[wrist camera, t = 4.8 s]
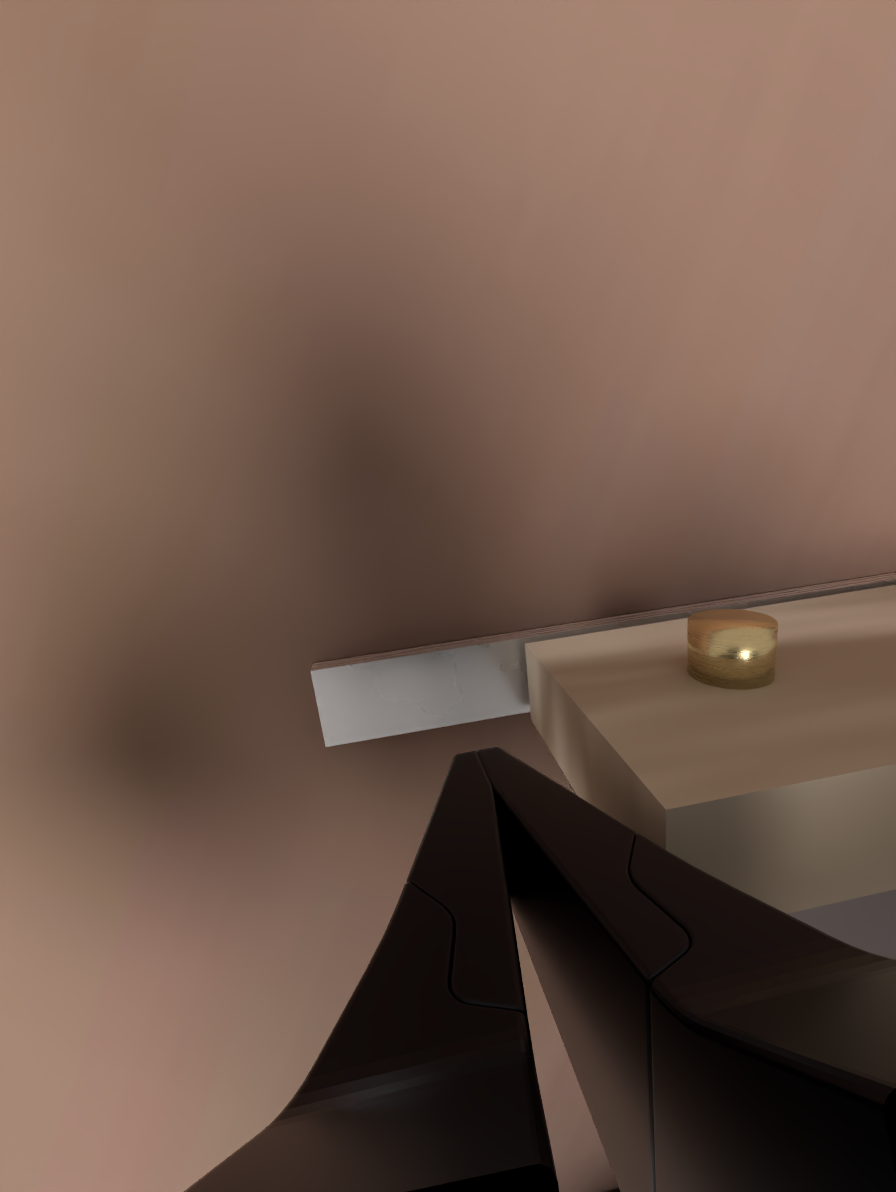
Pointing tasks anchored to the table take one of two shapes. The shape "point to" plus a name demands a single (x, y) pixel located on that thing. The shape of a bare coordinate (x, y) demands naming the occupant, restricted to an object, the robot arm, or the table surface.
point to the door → (739, 740)
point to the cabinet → (858, 922)
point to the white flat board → (480, 671)
